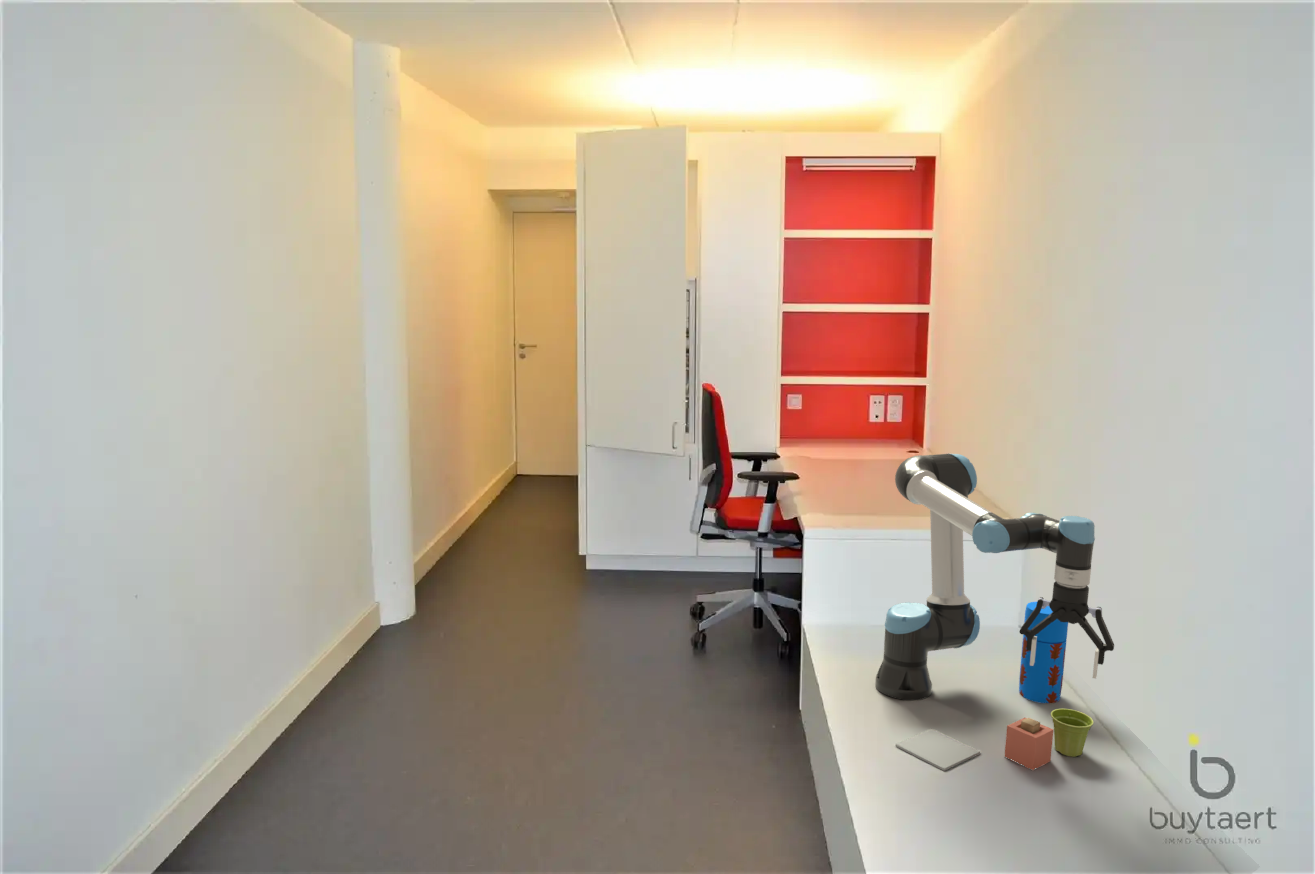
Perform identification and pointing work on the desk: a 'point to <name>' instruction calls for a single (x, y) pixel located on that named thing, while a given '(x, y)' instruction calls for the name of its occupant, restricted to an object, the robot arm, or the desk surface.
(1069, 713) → the plant pot
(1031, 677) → the thermos
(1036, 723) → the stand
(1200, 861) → the desk surface
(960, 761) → the coaster
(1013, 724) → the salmon square sleeve
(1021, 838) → the desk surface
